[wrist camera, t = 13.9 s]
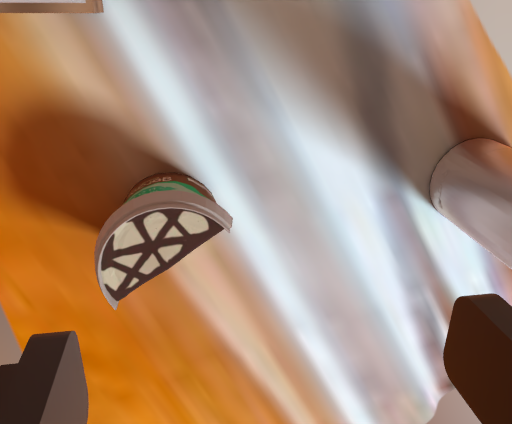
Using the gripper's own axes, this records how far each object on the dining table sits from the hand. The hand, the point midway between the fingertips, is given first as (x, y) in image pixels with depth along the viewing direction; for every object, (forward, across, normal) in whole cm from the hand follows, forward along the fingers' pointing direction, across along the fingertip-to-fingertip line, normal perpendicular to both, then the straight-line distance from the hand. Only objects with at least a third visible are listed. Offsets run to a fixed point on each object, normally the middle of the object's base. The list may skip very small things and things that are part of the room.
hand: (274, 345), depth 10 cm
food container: (+34, +5, +10) cm, 36 cm away
